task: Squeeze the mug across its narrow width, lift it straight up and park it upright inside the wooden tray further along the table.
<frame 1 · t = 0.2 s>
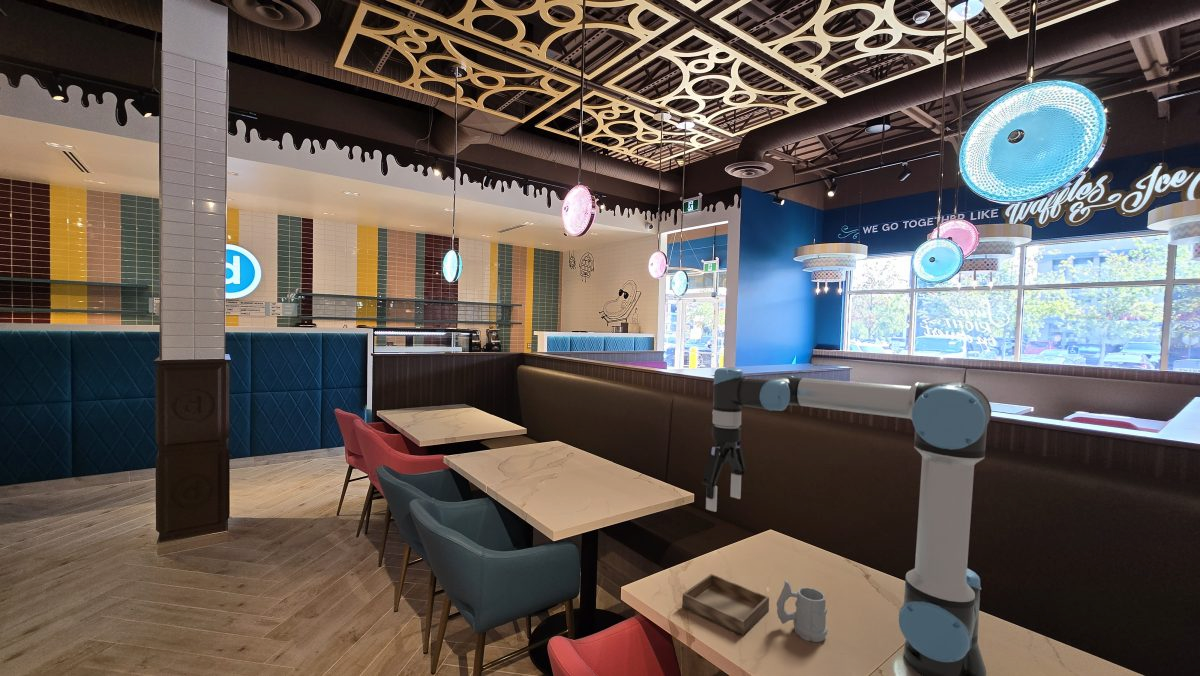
hand: (723, 503, 132), 27 cm above the table, fingers open, 13 cm apart
mug: (801, 632, 122), on the table
wooden tray: (725, 609, 130), on the table
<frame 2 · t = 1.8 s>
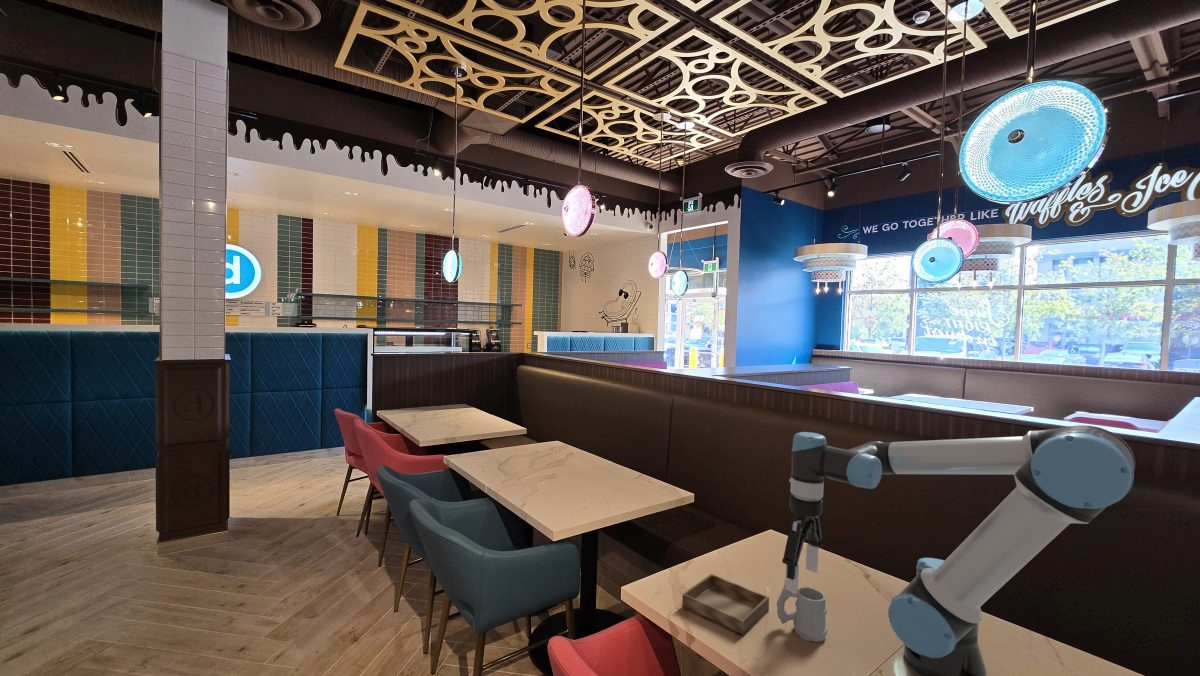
hand: (801, 580, 121), 13 cm above the table, fingers open, 13 cm apart
nothing on the table moved.
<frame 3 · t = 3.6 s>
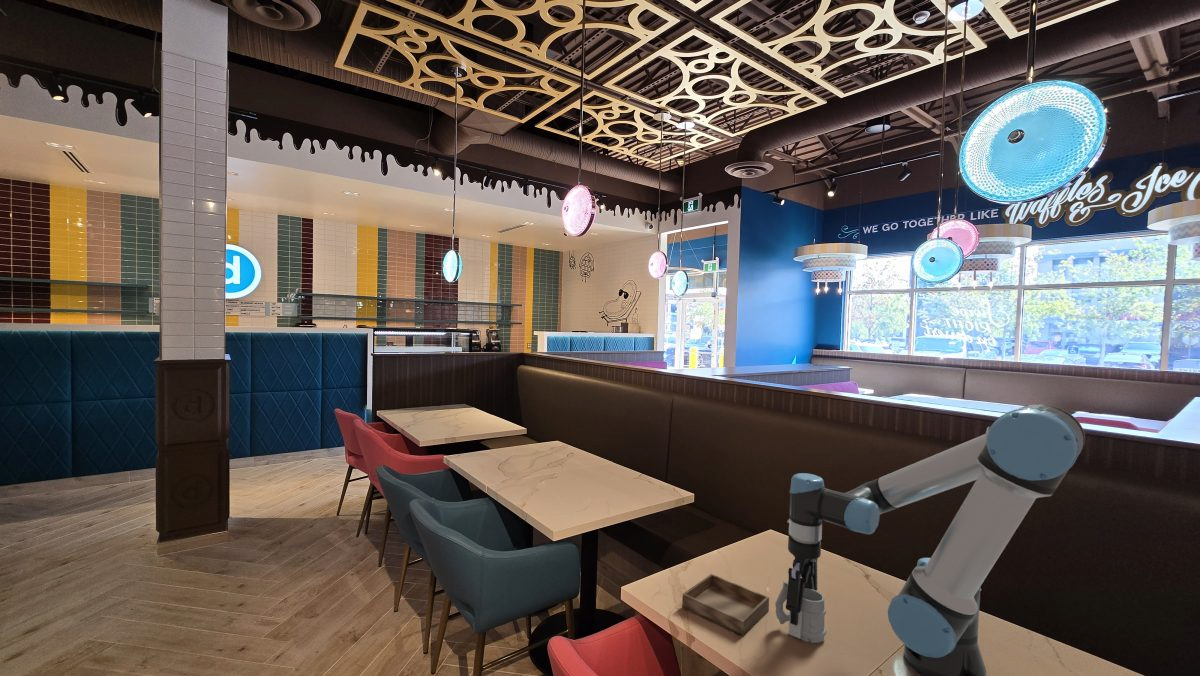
hand: (800, 628, 122), 1 cm above the table, fingers closed on mug, 7 cm apart
mug: (799, 633, 121), on the table, touching gripper
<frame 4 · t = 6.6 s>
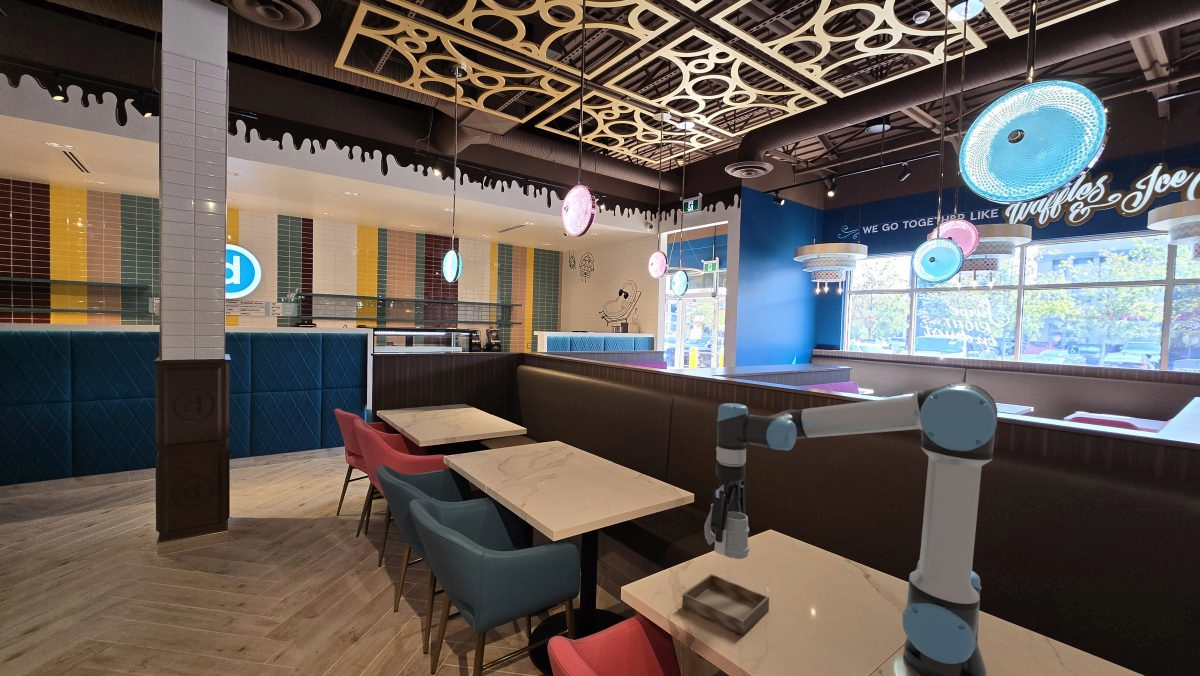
hand: (727, 548, 130), 17 cm above the table, fingers closed on mug, 7 cm apart
mug: (726, 552, 129), point 16 cm above the table, touching gripper
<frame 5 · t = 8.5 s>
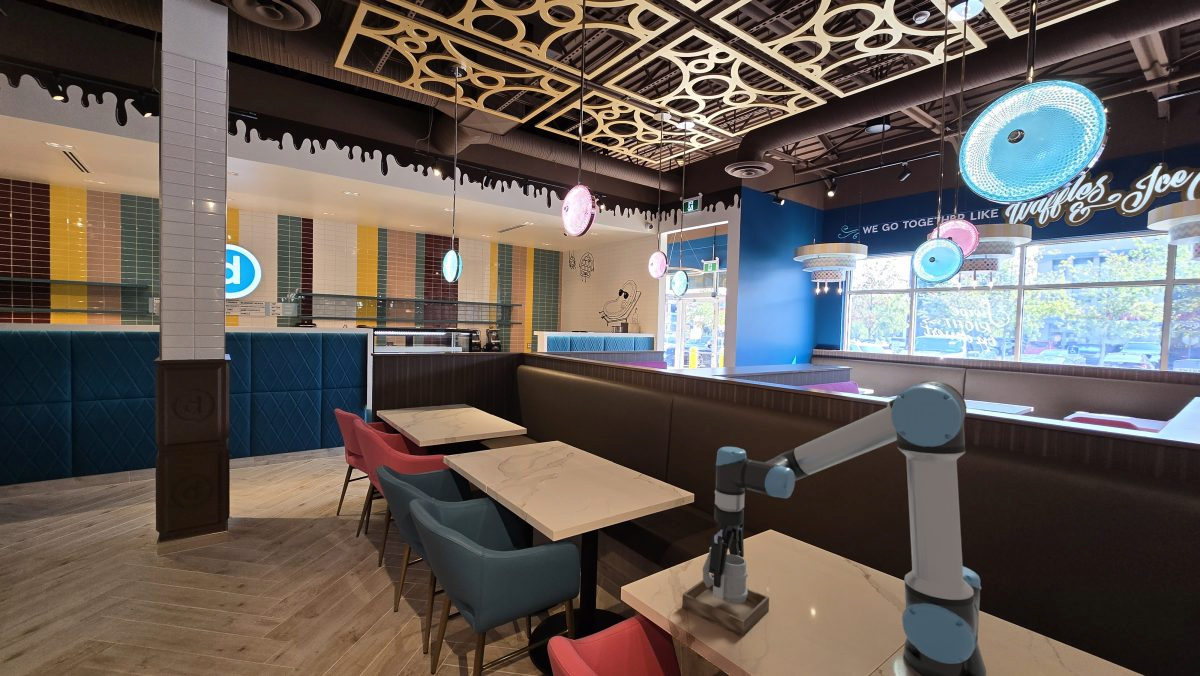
hand: (725, 591, 130), 5 cm above the table, fingers closed on mug, 7 cm apart
mug: (724, 595, 129), point 4 cm above the table, touching gripper
when the fingers open (4 cm above the table, at t = 9.7 s): mug drops 2 cm, resting on wooden tray.
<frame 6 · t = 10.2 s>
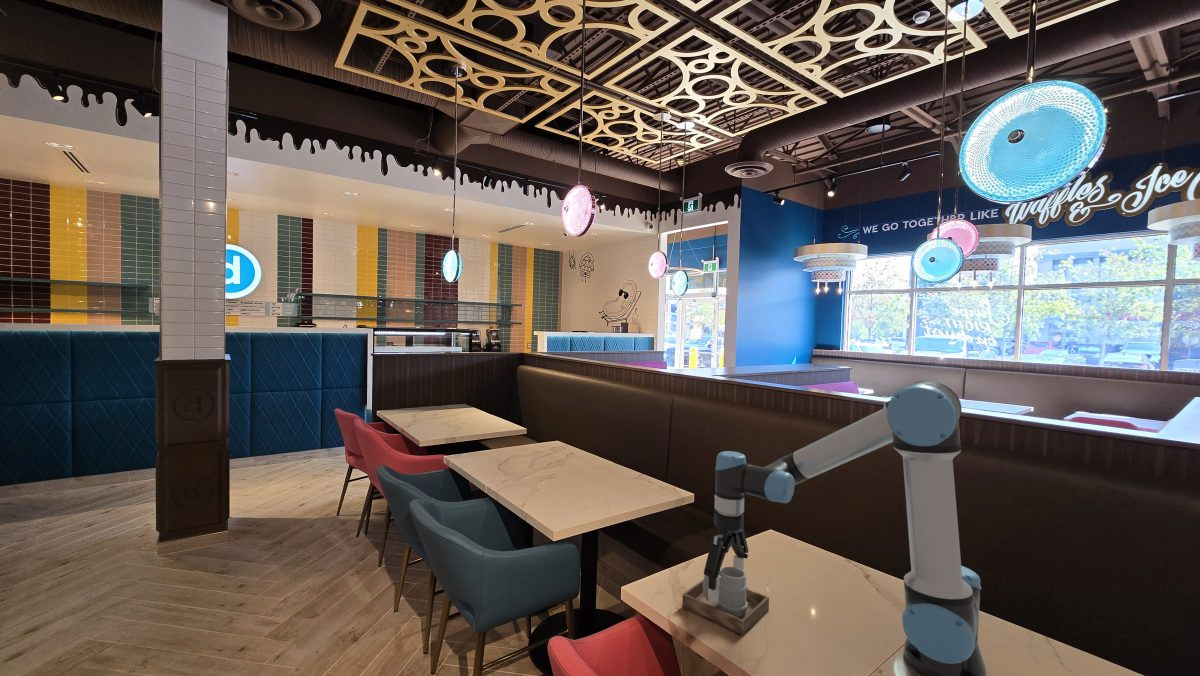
hand: (726, 590, 130), 5 cm above the table, fingers open, 13 cm apart
mug: (724, 608, 129), point 1 cm above the table, touching wooden tray
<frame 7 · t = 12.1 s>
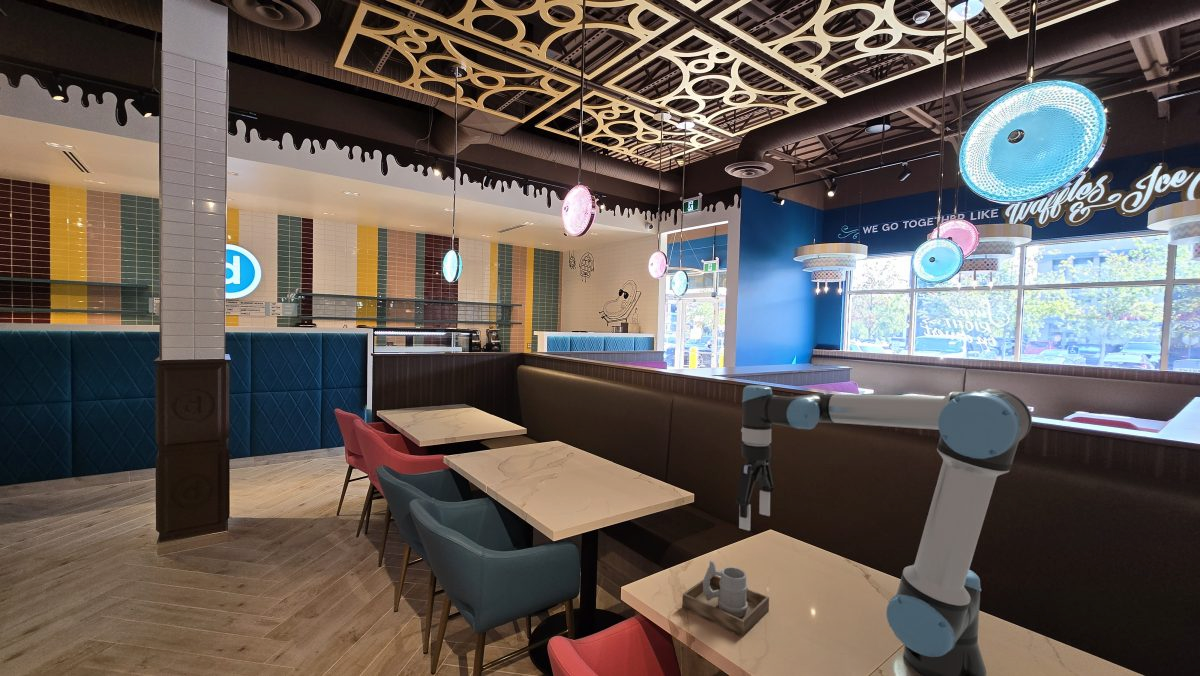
hand: (755, 521, 132), 23 cm above the table, fingers open, 13 cm apart
nothing on the table moved.
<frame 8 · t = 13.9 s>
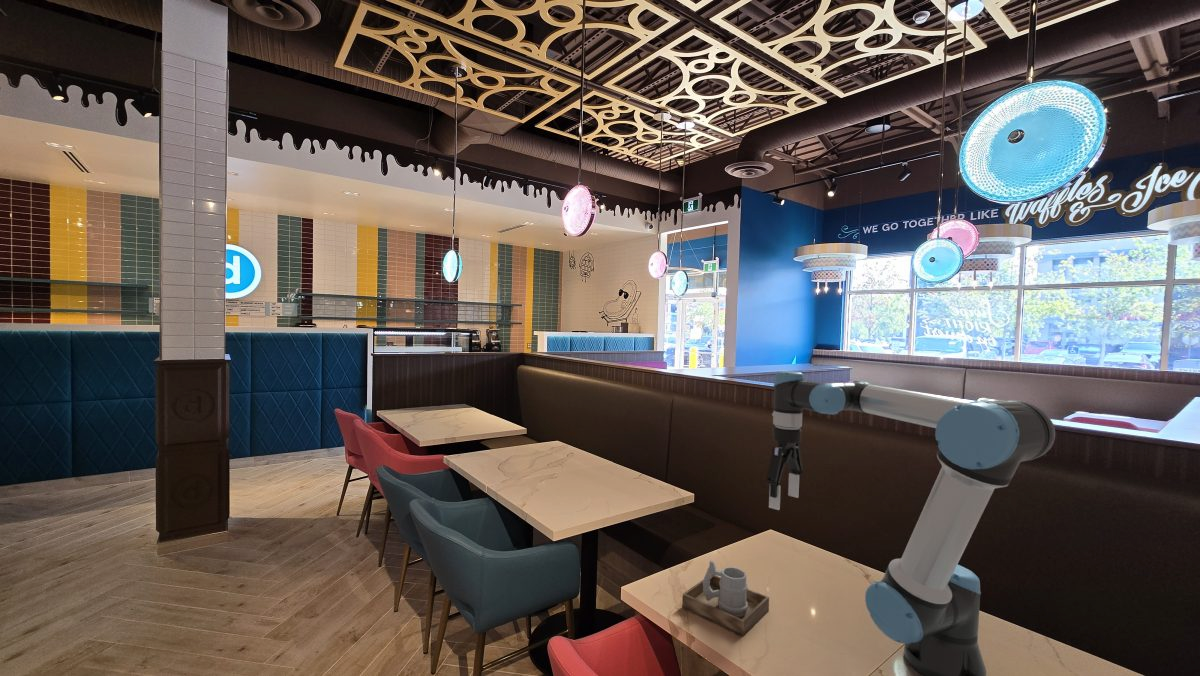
hand: (784, 502, 137), 27 cm above the table, fingers open, 13 cm apart
nothing on the table moved.
at the end: mug inside the target area on the wooden tray (0.7 cm from its centre), point 0.6 cm above the wooden tray's base; mug tilted 0°; the gripper is holding nothing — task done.
